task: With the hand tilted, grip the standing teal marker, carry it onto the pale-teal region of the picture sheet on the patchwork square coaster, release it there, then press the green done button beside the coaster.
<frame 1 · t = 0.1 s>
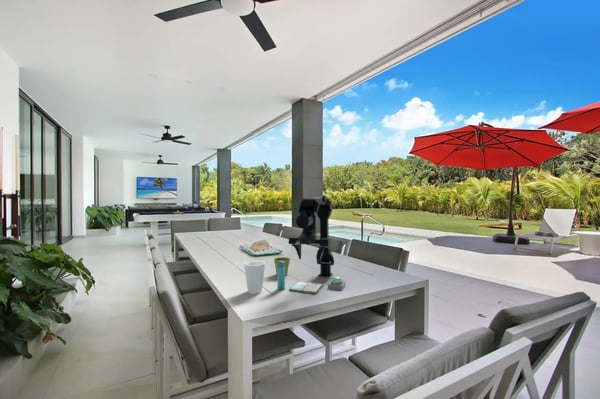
hand: (309, 260, 129), 15 cm above the table, tool pointing down, fingers open, 9 cm apart
done button: (336, 280, 137), point 3 cm above the table, slide at 0.0 cm
marker: (281, 289, 134), on the table
patchwork square coaster: (306, 288, 135), on the table
button housing: (336, 286, 137), on the table
foam cup: (254, 291, 130), on the table
plant pot: (281, 275, 157), on the table
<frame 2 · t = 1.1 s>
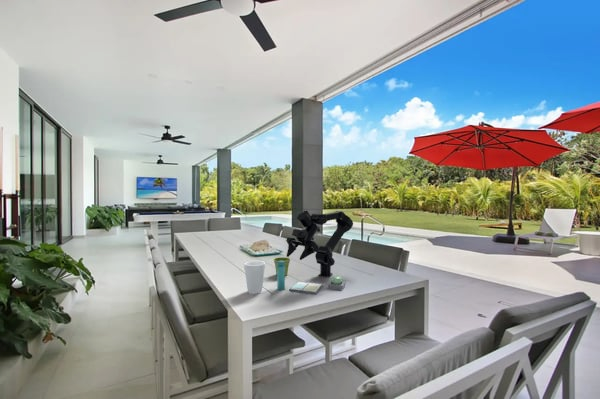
hand: (293, 258, 139), 13 cm above the table, tool tilted 45°, fingers open, 9 cm apart
nothing on the table moved.
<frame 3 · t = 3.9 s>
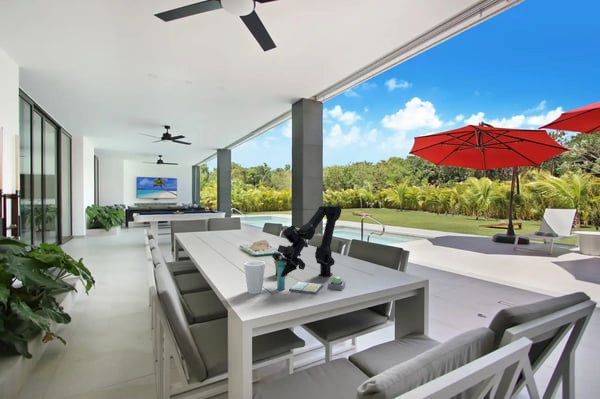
hand: (278, 275, 132), 7 cm above the table, tool tilted 45°, fingers closed on marker, 3 cm apart
marker: (281, 289, 134), on the table, touching gripper
everything else where it was.
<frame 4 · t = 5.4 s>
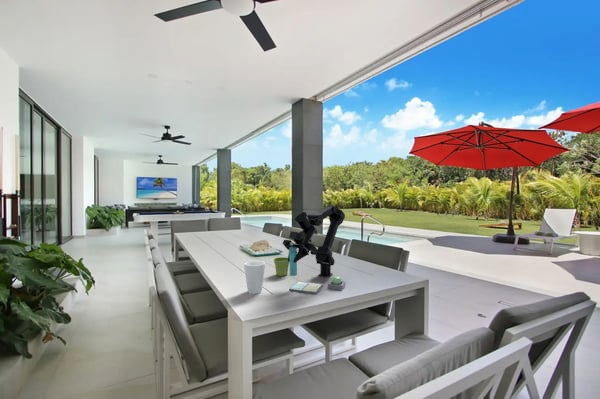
hand: (291, 261, 133), 13 cm above the table, tool tilted 45°, fingers closed on marker, 3 cm apart
marker: (293, 274, 134), point 6 cm above the table, touching gripper
everything else where it was.
when the fingers open (9 cm above the table, at t = 7.0 s): marker stays where it is, resting on patchwork square coaster.
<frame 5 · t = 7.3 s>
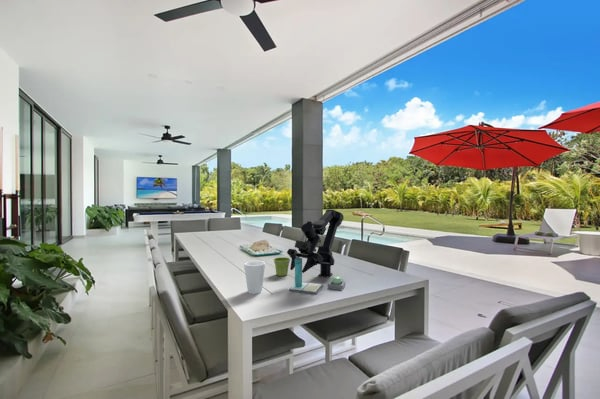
hand: (296, 271, 133), 9 cm above the table, tool tilted 45°, fingers open, 7 cm apart
marker: (298, 286, 134), point 1 cm above the table, touching patchwork square coaster
everything else where it was.
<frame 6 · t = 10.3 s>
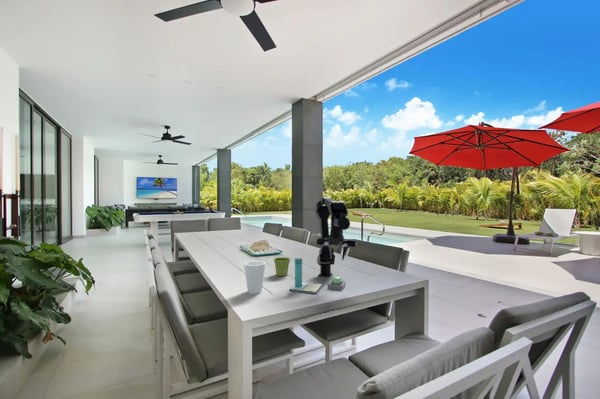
hand: (336, 259, 137), 13 cm above the table, tool pointing down, fingers open, 6 cm apart
nothing on the table moved.
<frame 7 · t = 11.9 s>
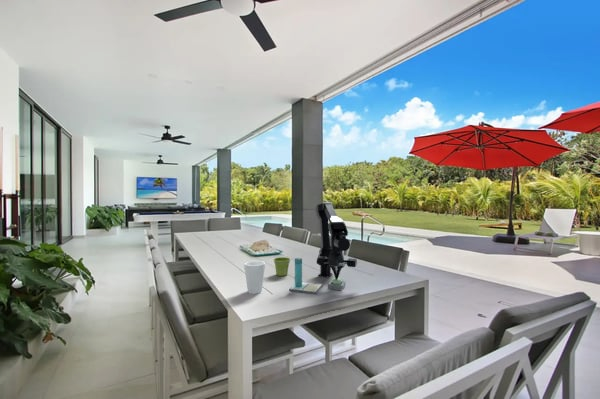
hand: (336, 279, 137), 4 cm above the table, tool pointing down, fingers closed, pressing on done button
done button: (336, 282, 137), point 2 cm above the table, slide at 0.7 cm, touching gripper
everything else where it was.
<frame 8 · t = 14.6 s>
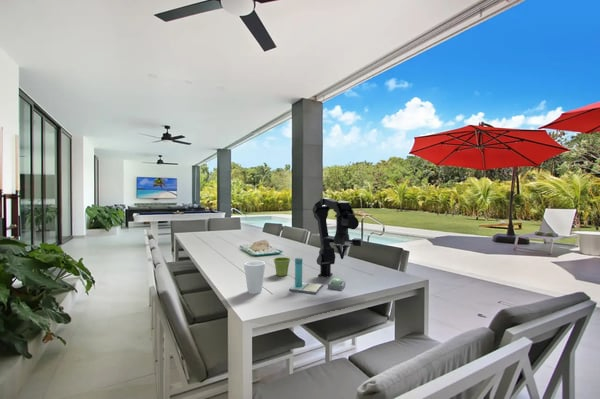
hand: (342, 258, 139), 13 cm above the table, tool pointing down, fingers closed
done button: (336, 282, 137), point 2 cm above the table, slide at 1.0 cm
everything else where it was.
at the end: marker inside the target area (0.0 cm from its centre), point 1.1 cm above the table; done button slide at 1.0 cm; the gripper is holding nothing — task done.
